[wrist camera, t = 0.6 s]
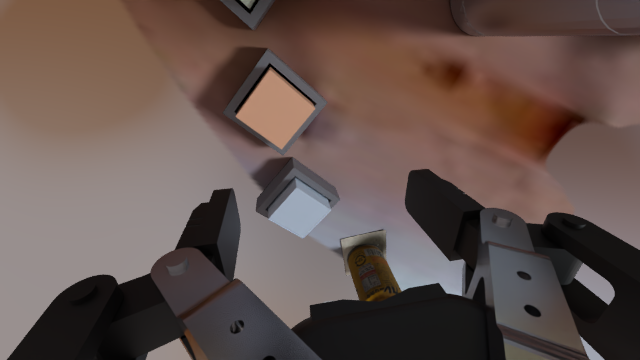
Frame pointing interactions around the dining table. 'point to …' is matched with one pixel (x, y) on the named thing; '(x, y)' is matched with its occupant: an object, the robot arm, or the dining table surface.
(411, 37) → the dining table surface
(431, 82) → the dining table surface
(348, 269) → the condiment
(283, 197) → the dusty blue button
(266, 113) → the terracotta button
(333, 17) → the dining table surface
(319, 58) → the dining table surface
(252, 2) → the sage green button
